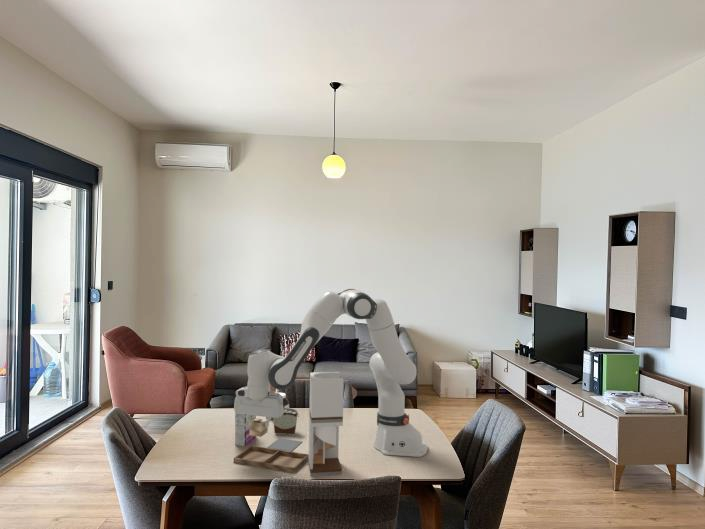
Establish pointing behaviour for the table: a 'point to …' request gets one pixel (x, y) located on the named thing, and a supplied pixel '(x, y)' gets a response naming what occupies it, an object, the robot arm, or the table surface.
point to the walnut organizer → (271, 458)
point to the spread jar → (284, 401)
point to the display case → (325, 423)
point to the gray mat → (285, 444)
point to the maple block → (257, 427)
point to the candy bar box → (242, 430)
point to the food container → (286, 422)
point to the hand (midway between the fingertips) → (258, 426)
